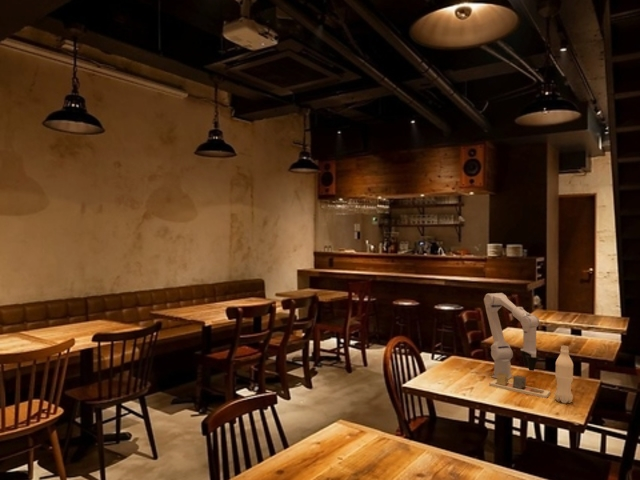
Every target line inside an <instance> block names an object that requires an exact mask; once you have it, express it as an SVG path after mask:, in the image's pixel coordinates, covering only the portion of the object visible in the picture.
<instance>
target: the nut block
mask: <svg viewBox="0 0 640 480" xmlns="http://www.w3.org/2000/svg"><path fill="white" fill-rule="evenodd" d="M512 379H513V382H512V383H513V388H517V389H521V390H524V389H525V386H526V385H527V384H526V376H523V375H518V374H517V375H514V376H512Z"/></svg>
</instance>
